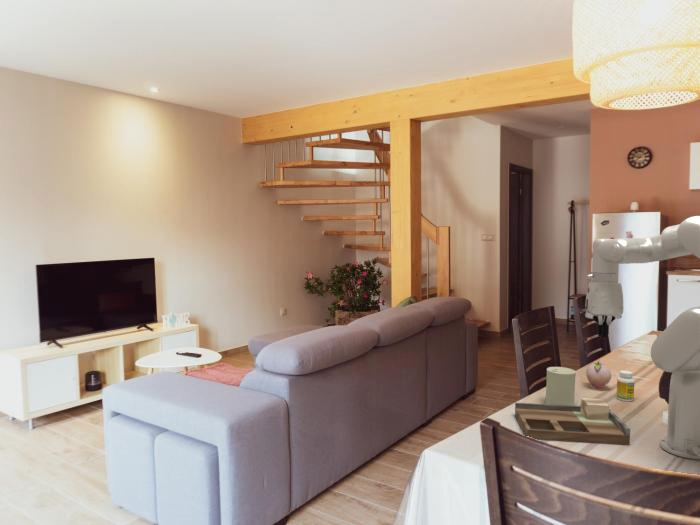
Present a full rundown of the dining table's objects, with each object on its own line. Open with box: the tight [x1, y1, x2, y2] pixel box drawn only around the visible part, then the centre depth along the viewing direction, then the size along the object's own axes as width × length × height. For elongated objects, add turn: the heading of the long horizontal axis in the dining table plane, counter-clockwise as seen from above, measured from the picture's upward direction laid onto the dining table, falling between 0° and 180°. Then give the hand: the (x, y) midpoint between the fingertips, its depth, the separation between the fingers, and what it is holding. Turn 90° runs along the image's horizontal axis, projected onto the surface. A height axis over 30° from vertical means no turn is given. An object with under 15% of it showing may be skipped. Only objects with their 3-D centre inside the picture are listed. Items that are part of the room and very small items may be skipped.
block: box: [580, 397, 610, 421], centre depth 161 cm, size 6×6×4 cm
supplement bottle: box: [616, 370, 635, 402], centre depth 186 cm, size 5×5×10 cm
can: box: [544, 366, 577, 406], centre depth 179 cm, size 9×9×12 cm
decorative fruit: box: [585, 361, 612, 389], centre depth 198 cm, size 9×8×10 cm
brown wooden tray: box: [514, 402, 631, 446], centre depth 157 cm, size 19×27×4 cm
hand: (602, 336), depth 168 cm, fingers closed
